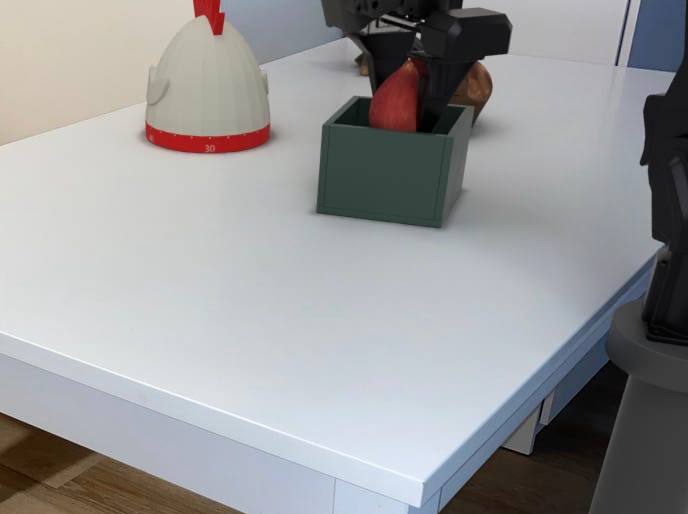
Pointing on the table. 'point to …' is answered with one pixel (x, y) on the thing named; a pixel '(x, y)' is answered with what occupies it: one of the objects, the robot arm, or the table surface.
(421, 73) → the robot arm
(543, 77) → the table surface
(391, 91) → the onion
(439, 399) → the table surface
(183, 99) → the kitchen timer
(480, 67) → the decorative turtle
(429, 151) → the open green box
